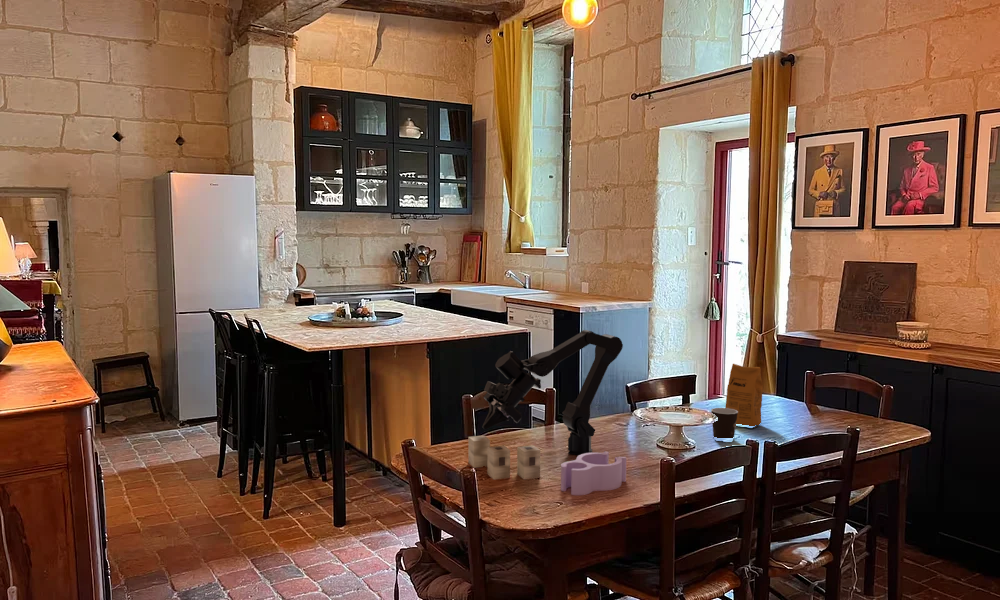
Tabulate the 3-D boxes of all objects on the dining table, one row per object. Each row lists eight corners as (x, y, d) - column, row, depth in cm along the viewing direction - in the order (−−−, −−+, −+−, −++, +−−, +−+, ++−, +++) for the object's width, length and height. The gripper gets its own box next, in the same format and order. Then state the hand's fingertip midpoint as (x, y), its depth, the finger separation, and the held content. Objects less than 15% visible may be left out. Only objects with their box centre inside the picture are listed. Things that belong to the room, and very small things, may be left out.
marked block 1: (503, 472, 215) (504, 444, 215) (510, 477, 211) (510, 449, 210) (487, 474, 214) (487, 446, 213) (493, 479, 209) (493, 451, 208)
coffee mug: (727, 445, 244) (728, 415, 243) (705, 439, 251) (706, 410, 250) (746, 438, 252) (747, 409, 251) (724, 433, 258) (725, 405, 257)
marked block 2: (533, 472, 216) (533, 444, 215) (540, 477, 211) (540, 449, 210) (517, 474, 214) (517, 446, 213) (524, 479, 209) (524, 451, 208)
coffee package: (733, 419, 278) (735, 361, 276) (765, 425, 269) (767, 365, 267) (720, 424, 271) (722, 364, 269) (752, 430, 262) (754, 369, 260)
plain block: (484, 461, 226) (484, 435, 225) (489, 465, 221) (489, 439, 220) (468, 462, 224) (468, 436, 223) (473, 467, 219) (473, 441, 219)
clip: (583, 499, 194) (584, 474, 193) (550, 487, 203) (550, 462, 203) (633, 483, 207) (633, 459, 206) (599, 472, 216) (600, 449, 216)
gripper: (489, 366, 231) (455, 404, 228) (512, 377, 214) (475, 418, 211) (513, 389, 235) (479, 427, 232) (536, 402, 217) (501, 442, 214)
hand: (483, 428), depth 222 cm, fingers closed
